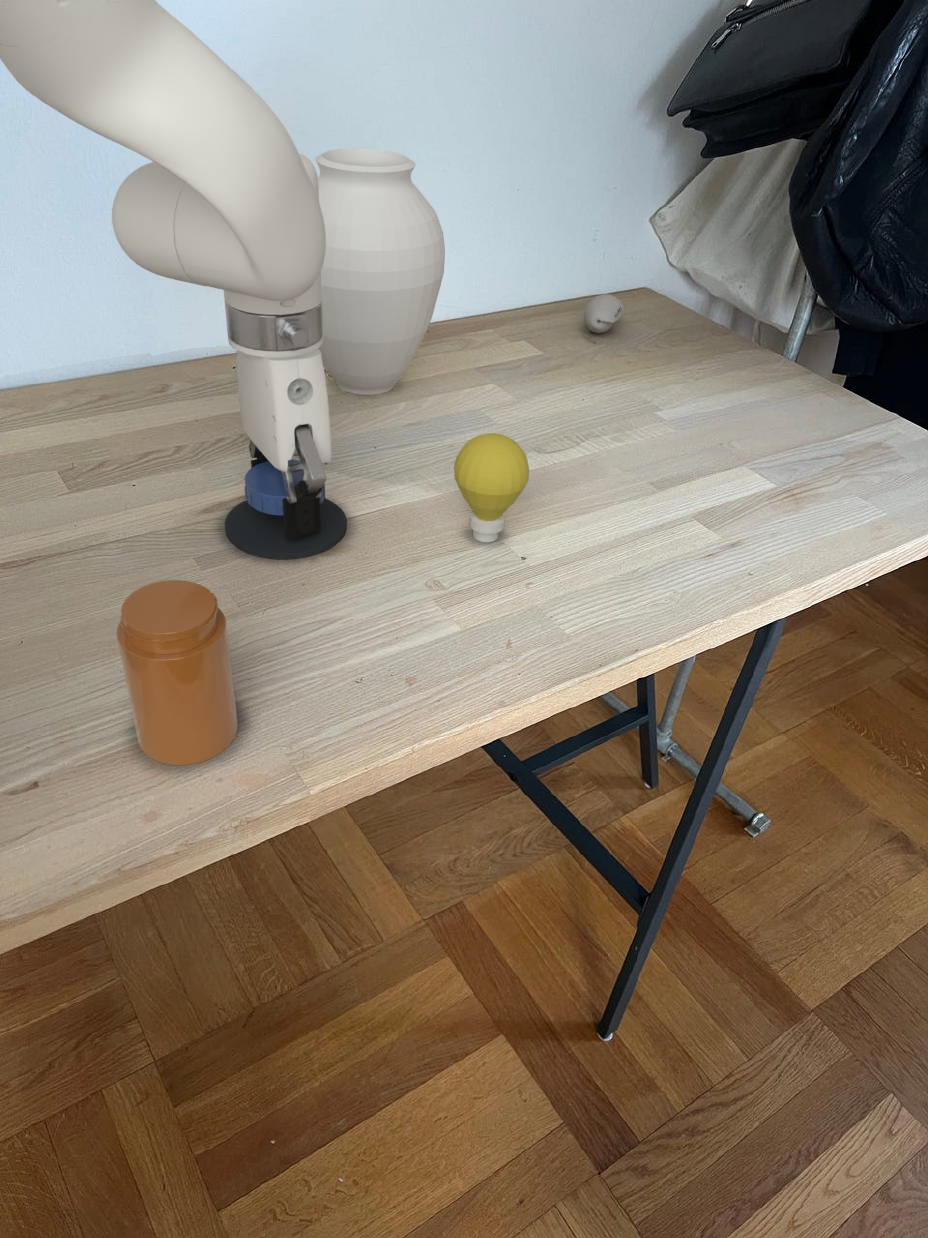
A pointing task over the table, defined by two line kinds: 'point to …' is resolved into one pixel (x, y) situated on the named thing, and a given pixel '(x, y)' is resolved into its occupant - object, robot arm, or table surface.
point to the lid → (270, 487)
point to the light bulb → (490, 481)
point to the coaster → (282, 532)
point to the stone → (602, 313)
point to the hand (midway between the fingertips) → (286, 514)
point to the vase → (375, 267)
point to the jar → (178, 672)
